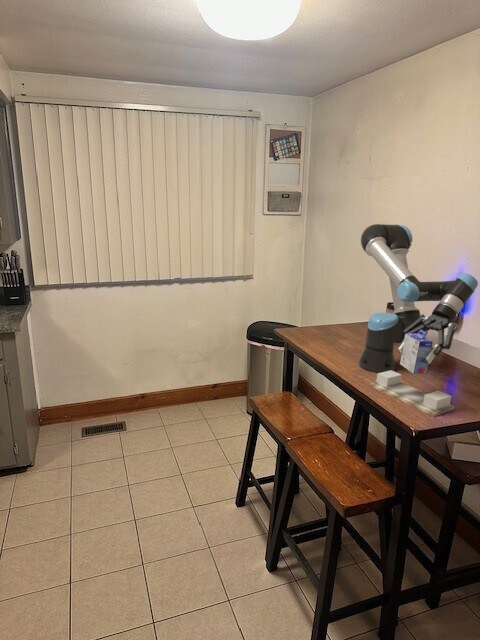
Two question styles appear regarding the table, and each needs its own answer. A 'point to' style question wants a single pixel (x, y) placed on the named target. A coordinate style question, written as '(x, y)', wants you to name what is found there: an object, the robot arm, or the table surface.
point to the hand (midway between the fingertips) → (413, 356)
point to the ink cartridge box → (416, 352)
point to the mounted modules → (431, 399)
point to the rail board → (410, 397)
